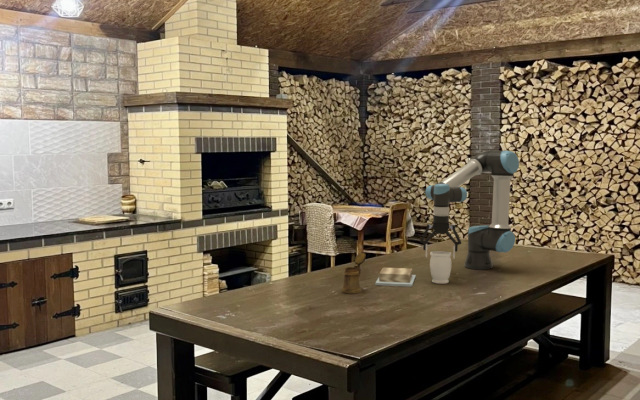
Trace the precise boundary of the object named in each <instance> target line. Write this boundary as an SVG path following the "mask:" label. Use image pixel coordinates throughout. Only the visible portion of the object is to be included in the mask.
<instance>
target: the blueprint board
mask: <svg viewBox="0 0 640 400" xmlns="http://www.w3.org/2000/svg"><path fill="white" fill-rule="evenodd" d="M416 277H417V275H416V274H412V278H411V280H410V283H406V282H382V281H379V277H378V278H377V280H376V281H375V284H374V285H375V286H384V287H385V286H386V287H387V286H389V287H408V288H412V287H413V285H414V284H415V283H414V282H415V280H416Z"/></svg>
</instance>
